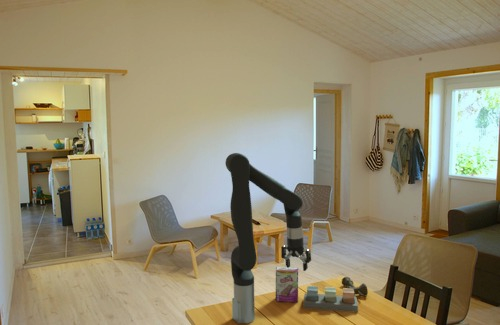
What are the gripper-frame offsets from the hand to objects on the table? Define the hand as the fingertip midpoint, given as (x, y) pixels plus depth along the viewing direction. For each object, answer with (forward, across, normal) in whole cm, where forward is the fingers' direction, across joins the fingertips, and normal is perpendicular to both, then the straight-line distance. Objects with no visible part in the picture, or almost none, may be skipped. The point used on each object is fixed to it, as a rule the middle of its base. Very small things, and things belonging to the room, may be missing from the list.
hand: (296, 268), depth 188 cm
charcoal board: (+21, +11, +11) cm, 26 cm away
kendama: (+23, +16, +30) cm, 42 cm away
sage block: (+18, +11, +11) cm, 24 cm away
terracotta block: (+19, +19, +14) cm, 30 cm away
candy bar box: (+21, -9, +5) cm, 23 cm away
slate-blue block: (+18, +4, +8) cm, 20 cm away
